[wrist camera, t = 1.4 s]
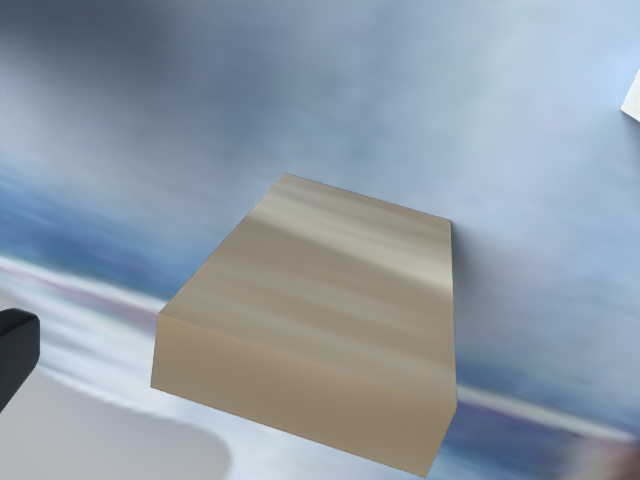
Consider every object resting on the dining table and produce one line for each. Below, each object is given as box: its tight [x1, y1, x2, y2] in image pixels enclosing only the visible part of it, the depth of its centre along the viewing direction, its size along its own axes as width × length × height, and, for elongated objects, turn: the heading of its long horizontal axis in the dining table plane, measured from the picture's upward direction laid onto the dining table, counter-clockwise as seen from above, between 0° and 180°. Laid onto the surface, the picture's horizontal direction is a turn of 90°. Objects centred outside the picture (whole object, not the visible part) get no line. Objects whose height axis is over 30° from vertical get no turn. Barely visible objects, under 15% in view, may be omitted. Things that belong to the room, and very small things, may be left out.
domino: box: [150, 173, 457, 478], centre depth 13 cm, size 2×5×8 cm, turn 77°
